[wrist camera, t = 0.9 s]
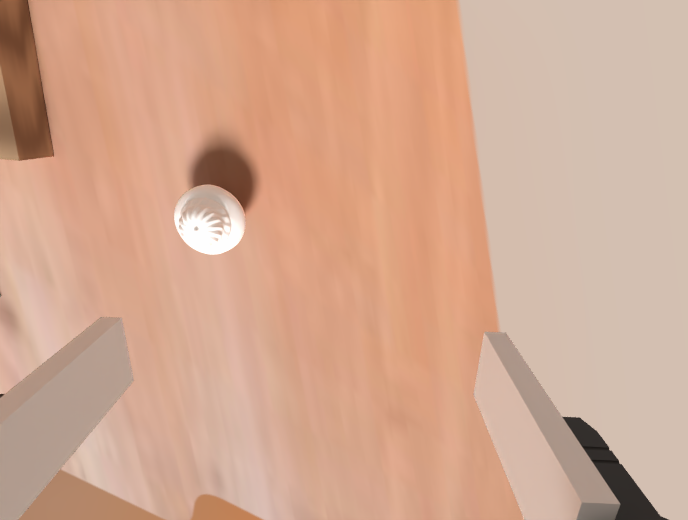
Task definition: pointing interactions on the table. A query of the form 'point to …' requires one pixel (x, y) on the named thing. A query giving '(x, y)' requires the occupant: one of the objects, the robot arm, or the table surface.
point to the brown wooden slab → (20, 88)
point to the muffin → (210, 219)
